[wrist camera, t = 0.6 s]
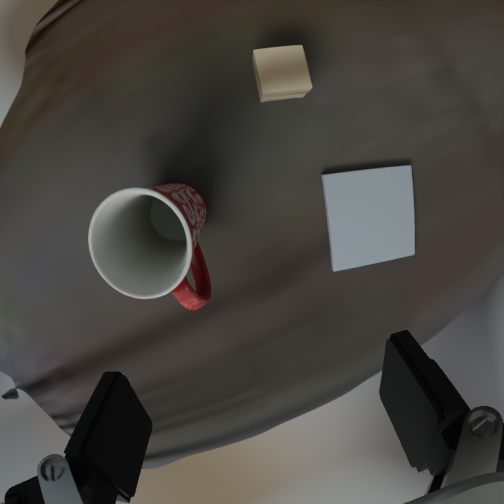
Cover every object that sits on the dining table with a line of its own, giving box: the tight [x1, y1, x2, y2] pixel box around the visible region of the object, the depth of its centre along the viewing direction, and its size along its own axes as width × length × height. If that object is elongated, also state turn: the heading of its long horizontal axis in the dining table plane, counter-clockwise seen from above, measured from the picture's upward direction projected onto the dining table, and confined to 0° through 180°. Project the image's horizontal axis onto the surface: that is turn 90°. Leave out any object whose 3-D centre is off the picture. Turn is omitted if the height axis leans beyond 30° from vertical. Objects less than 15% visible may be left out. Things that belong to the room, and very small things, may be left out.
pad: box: [321, 165, 415, 271], centre depth 34 cm, size 12×12×1 cm
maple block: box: [252, 45, 312, 102], centre depth 27 cm, size 5×5×5 cm
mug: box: [88, 183, 211, 310], centre depth 28 cm, size 13×9×14 cm
